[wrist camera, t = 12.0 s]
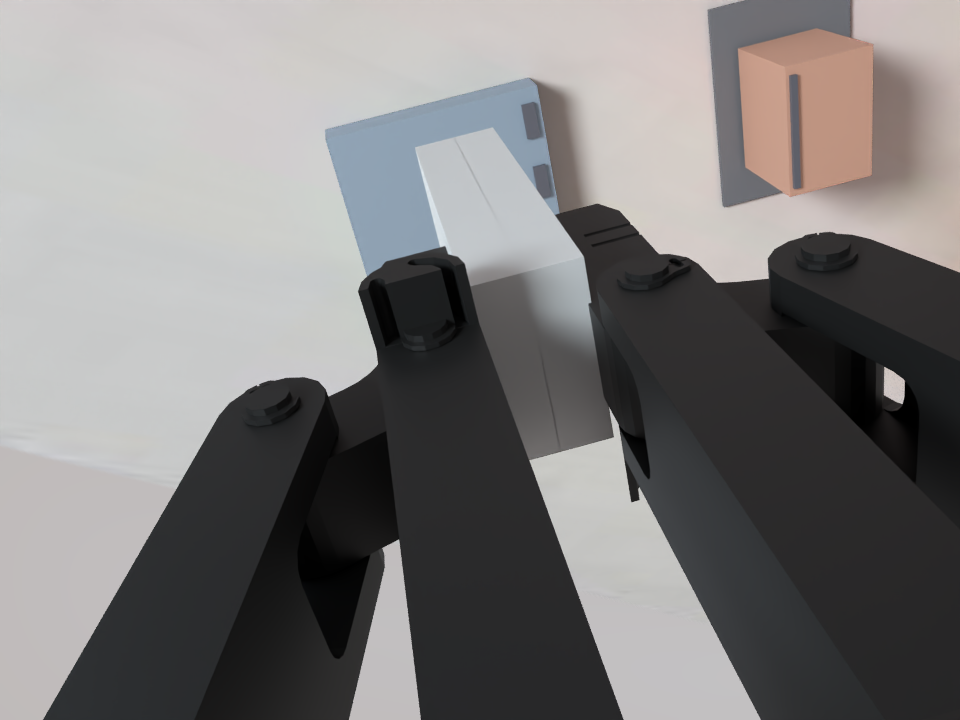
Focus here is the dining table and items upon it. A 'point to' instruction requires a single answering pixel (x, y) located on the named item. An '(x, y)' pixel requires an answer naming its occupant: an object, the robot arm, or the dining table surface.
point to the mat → (760, 17)
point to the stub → (807, 110)
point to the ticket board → (396, 172)
